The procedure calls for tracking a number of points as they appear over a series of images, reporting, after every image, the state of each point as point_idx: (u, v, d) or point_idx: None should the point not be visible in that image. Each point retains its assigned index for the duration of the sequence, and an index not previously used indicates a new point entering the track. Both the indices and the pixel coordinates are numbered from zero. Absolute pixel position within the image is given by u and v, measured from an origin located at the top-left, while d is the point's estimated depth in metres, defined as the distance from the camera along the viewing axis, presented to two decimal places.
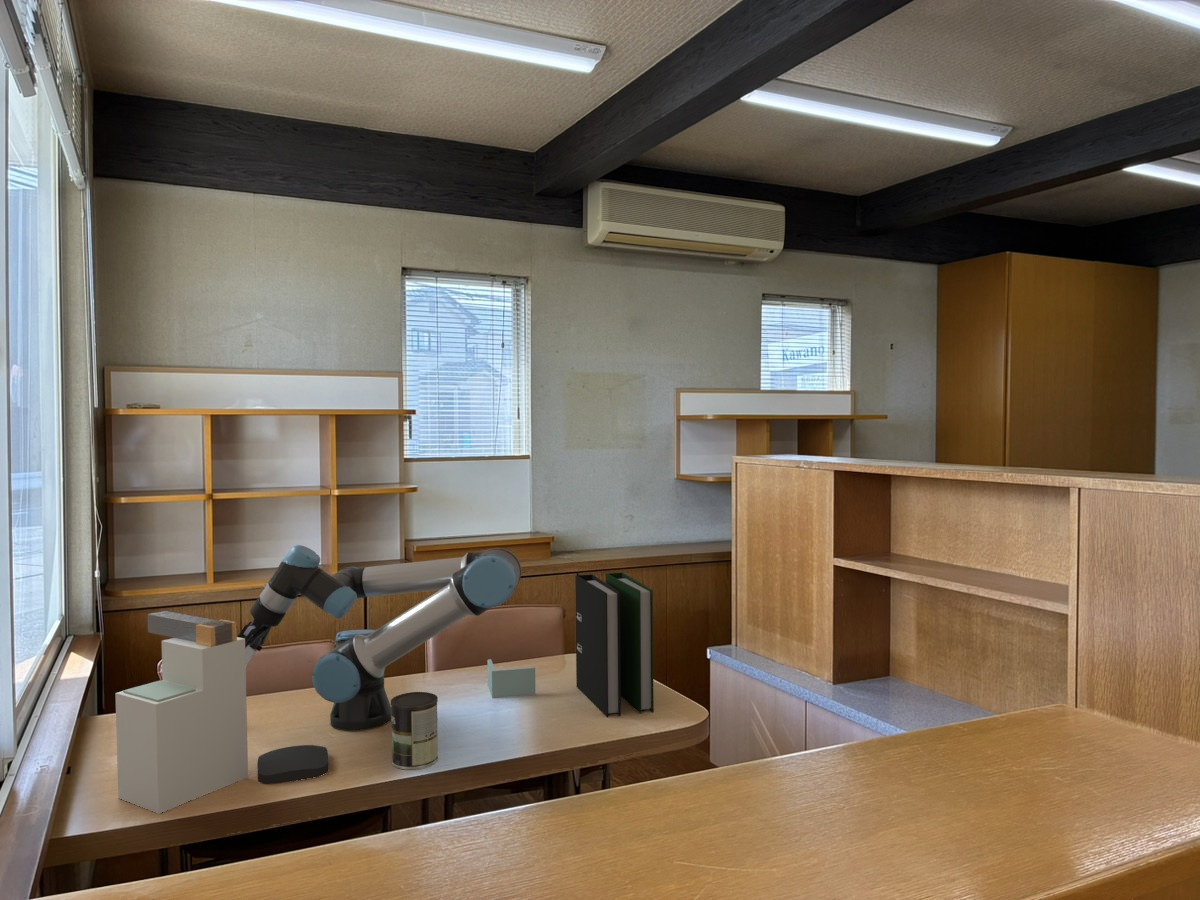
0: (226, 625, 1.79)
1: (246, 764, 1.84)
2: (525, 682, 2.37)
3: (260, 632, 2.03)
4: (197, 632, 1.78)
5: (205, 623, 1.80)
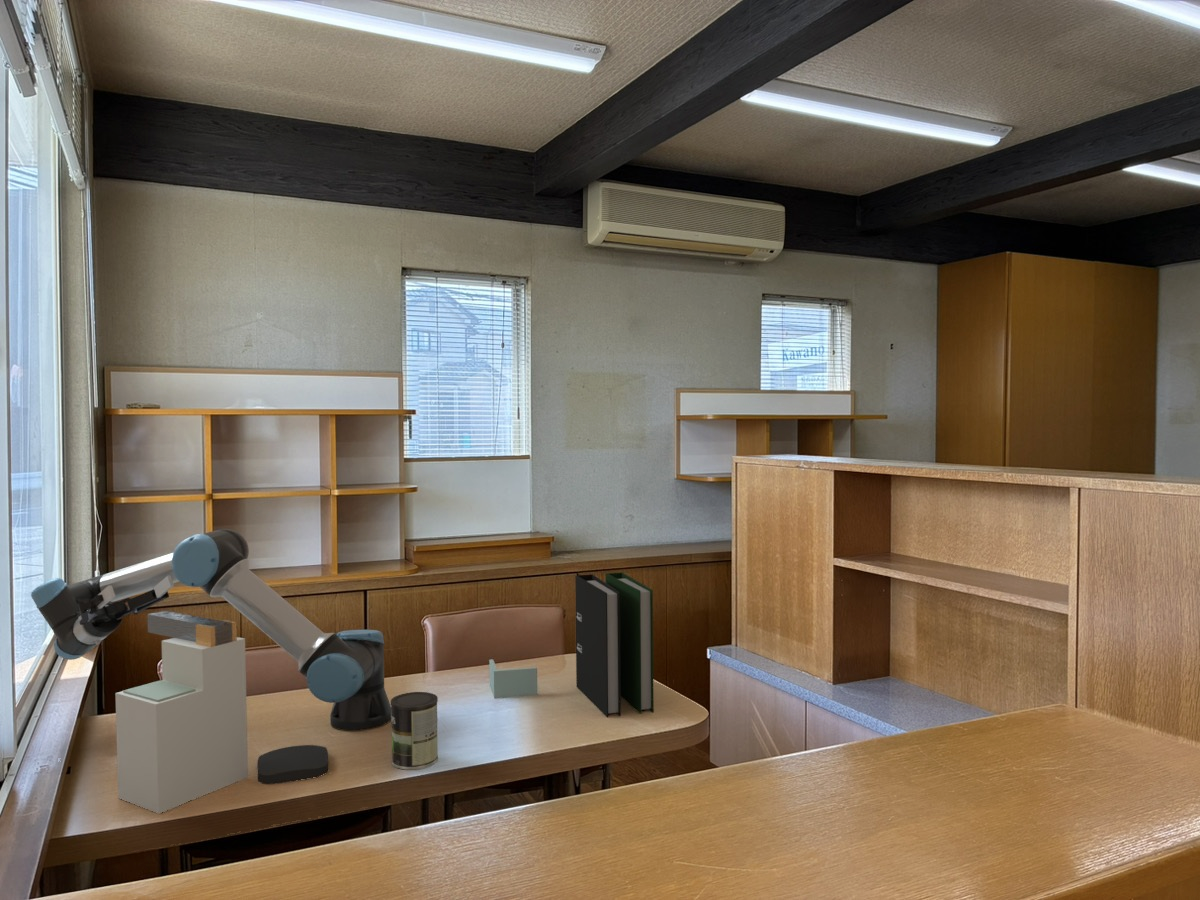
0: (226, 625, 1.79)
1: (246, 764, 1.84)
2: (527, 682, 2.37)
3: None
4: (197, 632, 1.78)
5: (205, 623, 1.80)
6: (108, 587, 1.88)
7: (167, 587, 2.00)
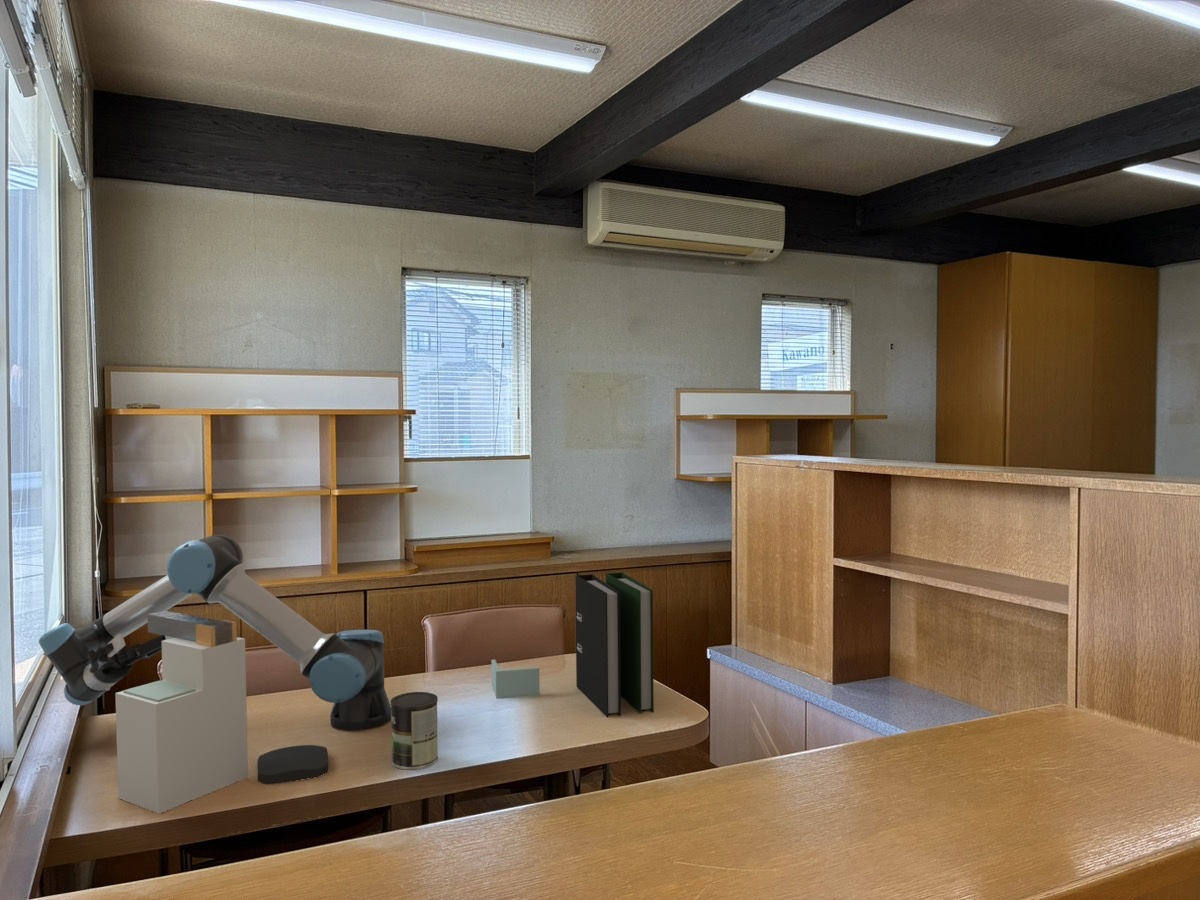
0: (226, 625, 1.79)
1: (246, 764, 1.84)
2: (529, 682, 2.37)
3: None
4: (197, 632, 1.78)
5: (205, 623, 1.80)
6: (118, 636, 1.86)
7: None
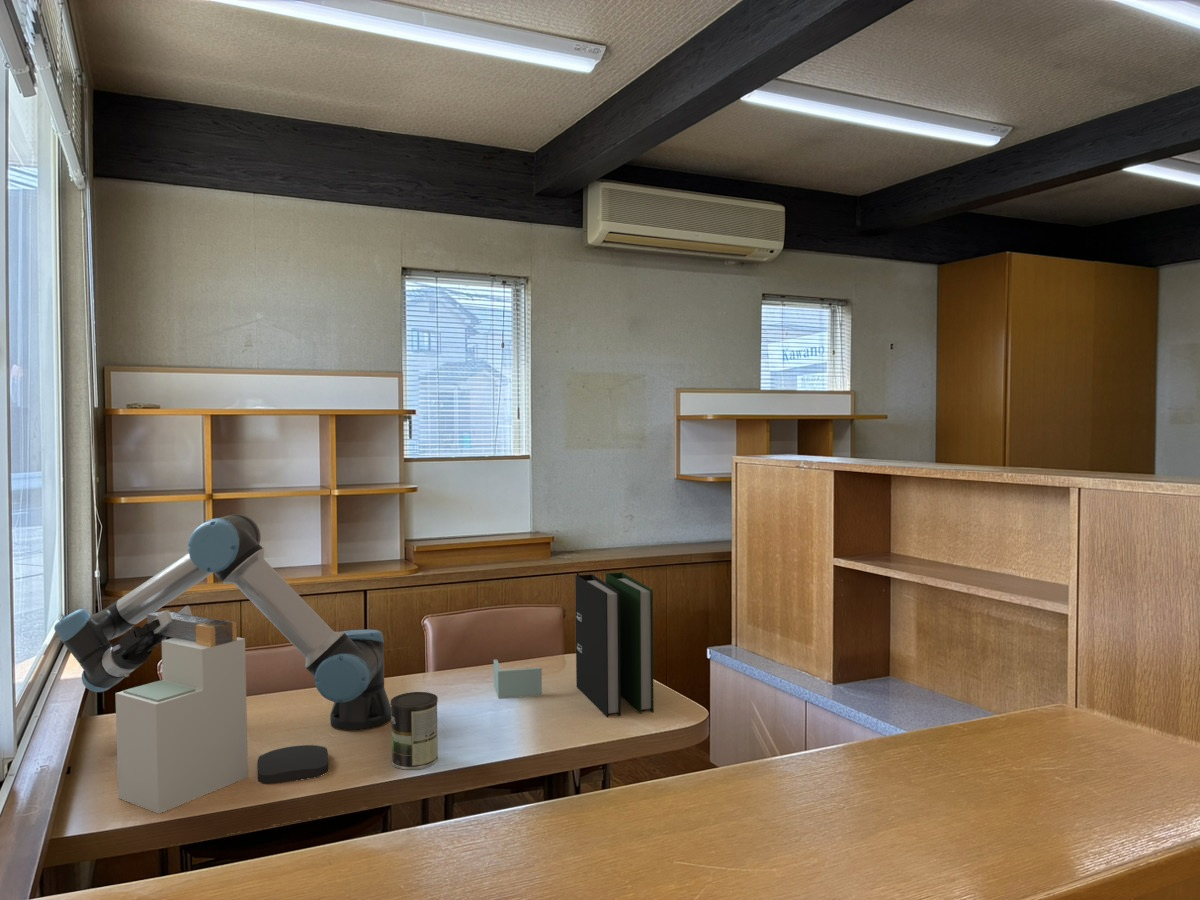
0: (226, 625, 1.79)
1: (246, 764, 1.84)
2: (531, 682, 2.37)
3: None
4: (197, 632, 1.78)
5: (205, 623, 1.80)
6: (165, 612, 1.85)
7: None
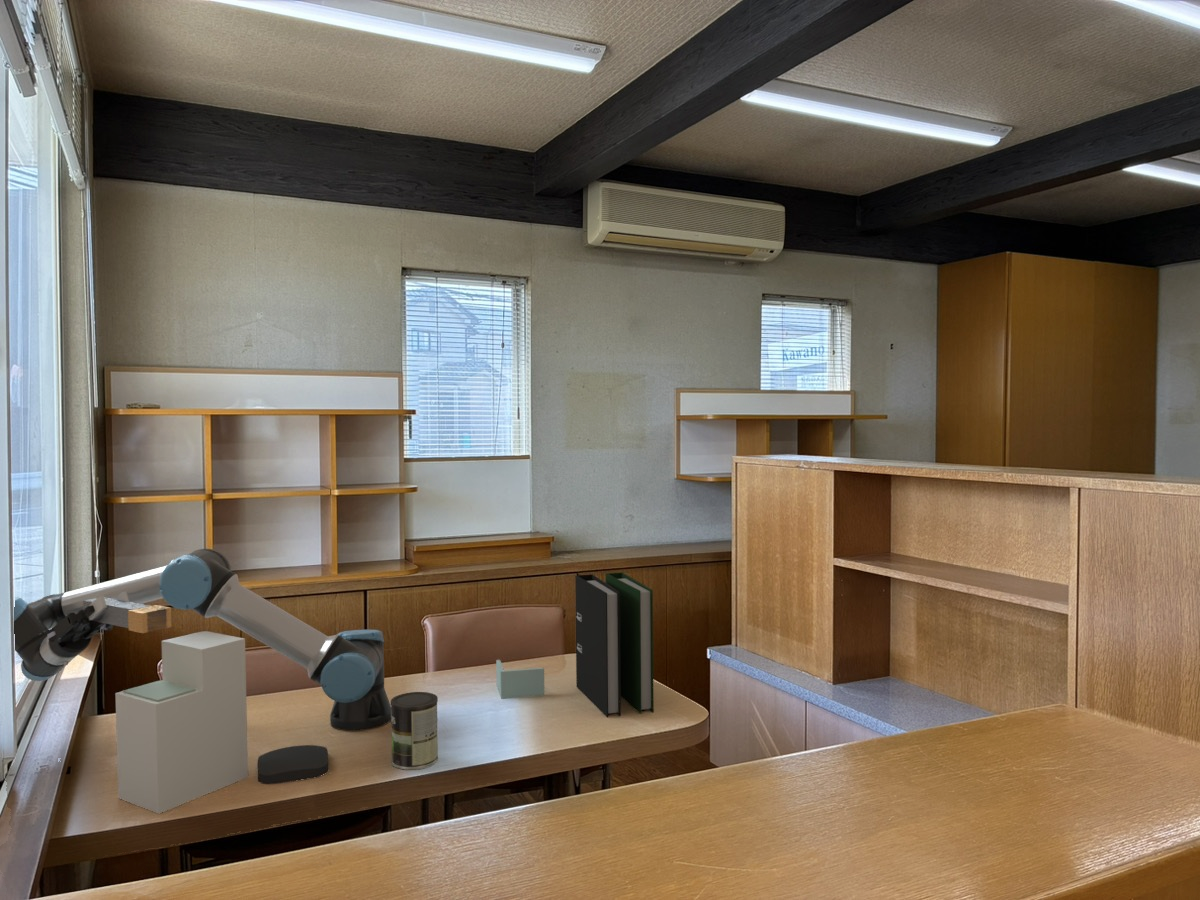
0: (159, 611, 1.73)
1: (246, 764, 1.84)
2: (534, 683, 2.37)
3: None
4: (129, 617, 1.73)
5: (138, 609, 1.74)
6: (99, 597, 1.79)
7: None
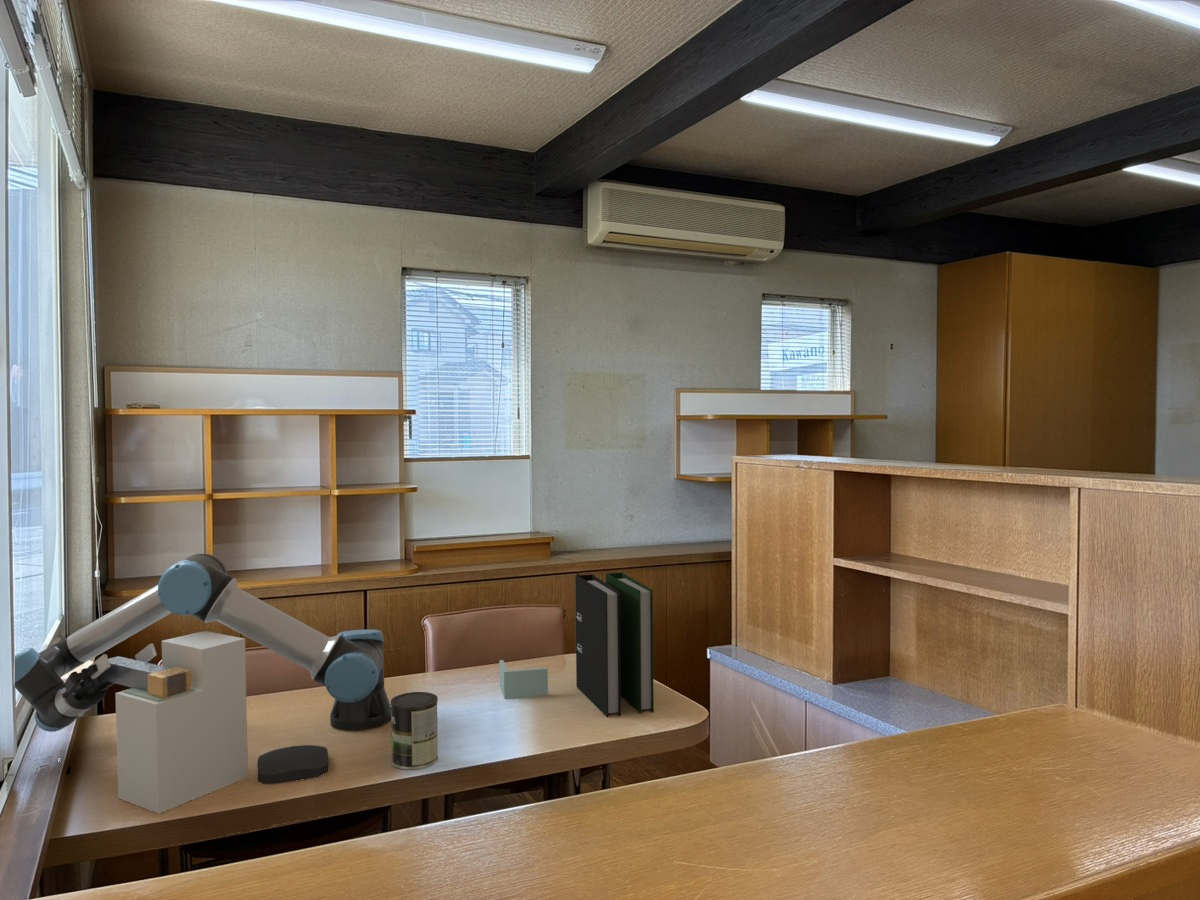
0: (179, 674, 1.72)
1: (246, 764, 1.84)
2: (537, 683, 2.37)
3: None
4: (148, 681, 1.71)
5: (157, 672, 1.72)
6: (102, 656, 1.75)
7: (149, 656, 1.84)
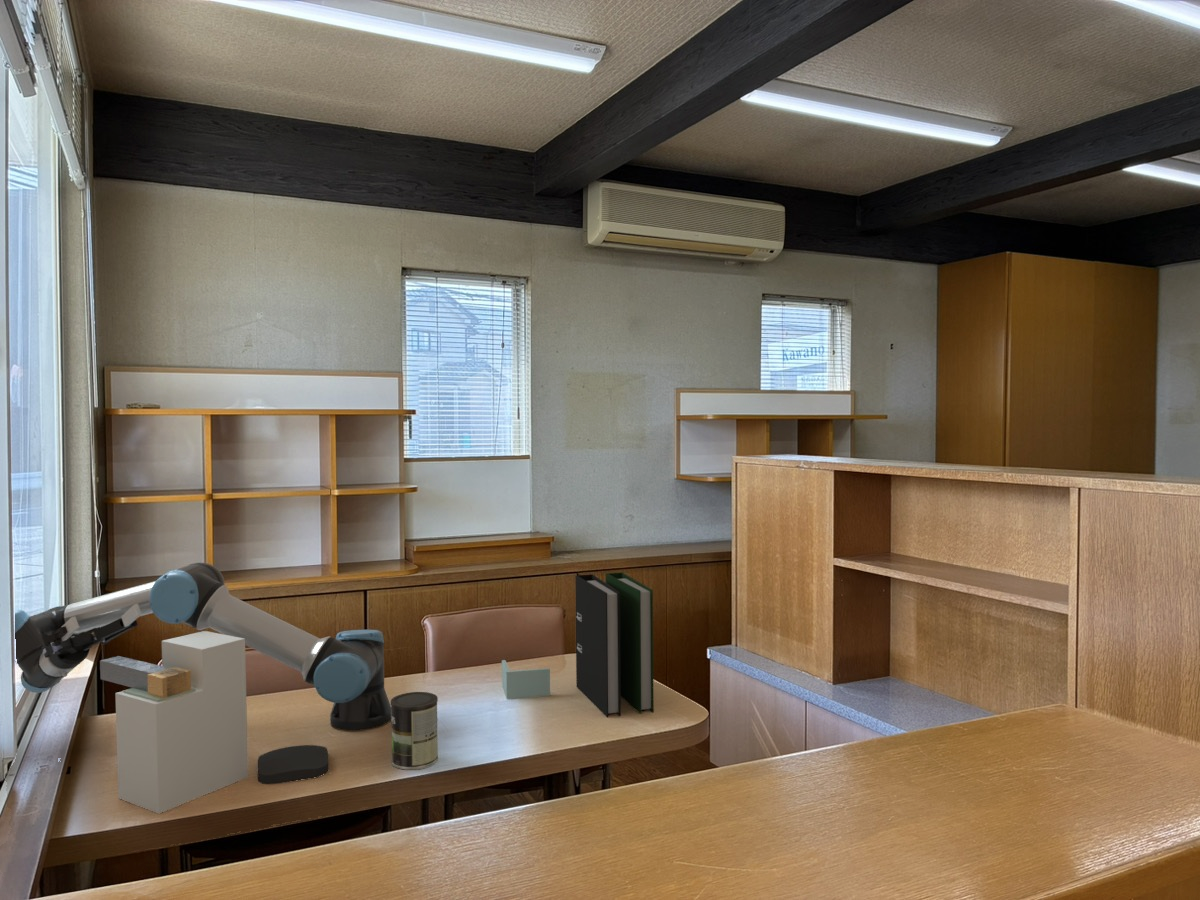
0: (179, 674, 1.72)
1: (246, 764, 1.84)
2: (540, 683, 2.36)
3: None
4: (148, 681, 1.71)
5: (158, 672, 1.72)
6: (71, 618, 1.82)
7: (134, 616, 1.94)
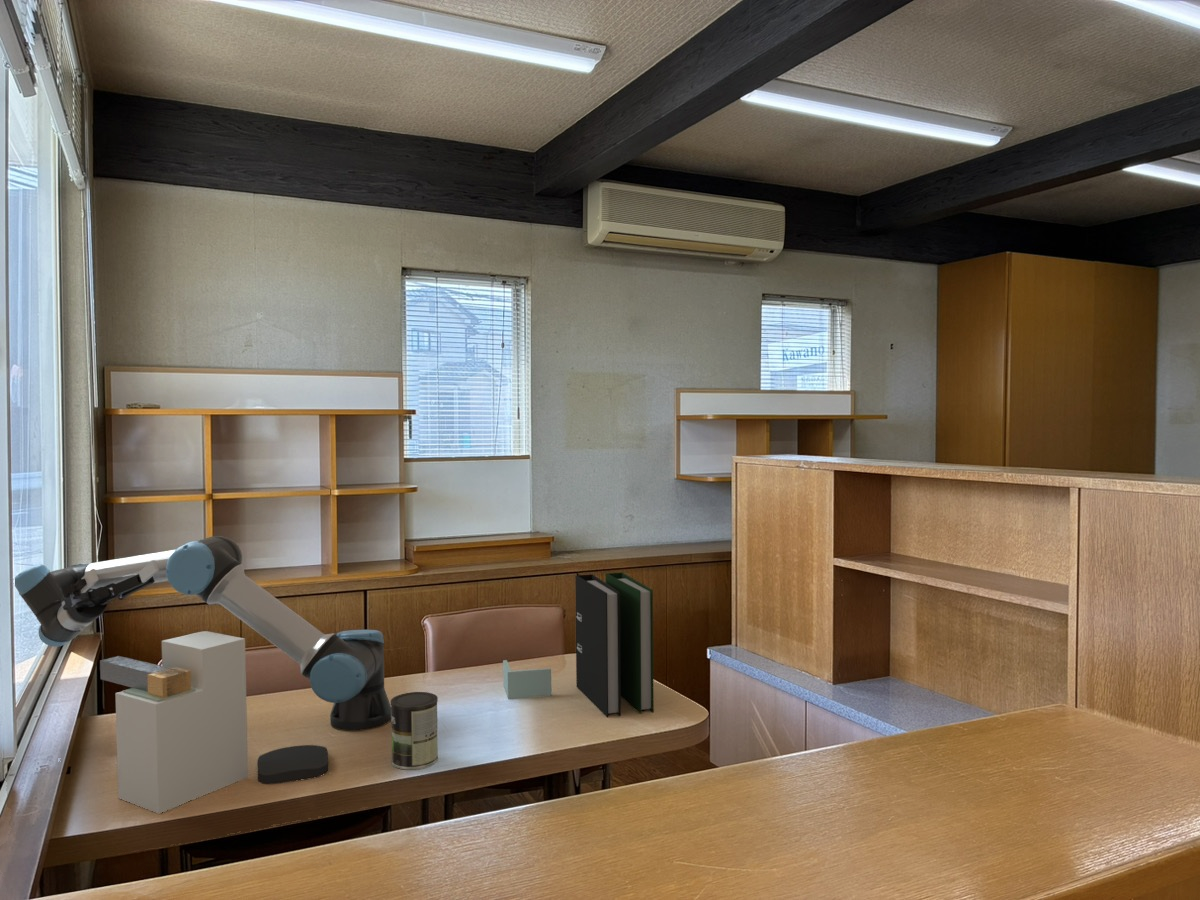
0: (179, 674, 1.72)
1: (246, 764, 1.84)
2: (541, 683, 2.36)
3: None
4: (148, 681, 1.71)
5: (158, 672, 1.72)
6: (91, 571, 1.85)
7: (152, 571, 1.97)
